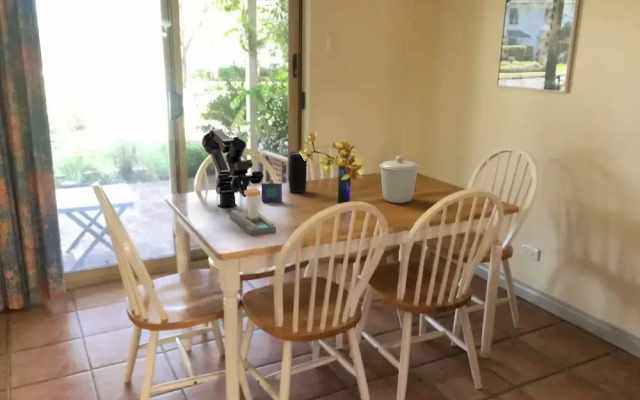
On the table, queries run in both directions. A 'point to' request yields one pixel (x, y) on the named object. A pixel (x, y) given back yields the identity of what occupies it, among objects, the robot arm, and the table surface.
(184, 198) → the table surface
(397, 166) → the canister
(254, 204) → the slider handle
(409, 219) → the table surface
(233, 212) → the fader track
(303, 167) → the portable speaker
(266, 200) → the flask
